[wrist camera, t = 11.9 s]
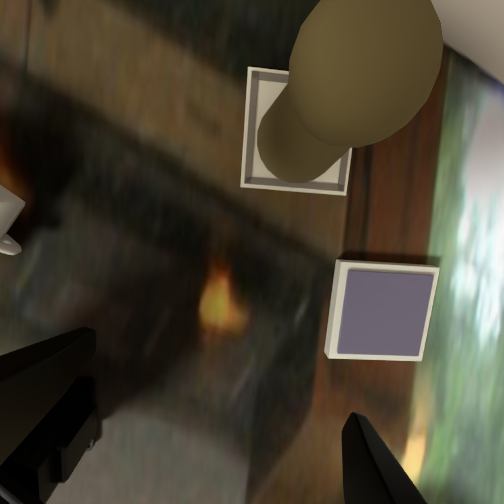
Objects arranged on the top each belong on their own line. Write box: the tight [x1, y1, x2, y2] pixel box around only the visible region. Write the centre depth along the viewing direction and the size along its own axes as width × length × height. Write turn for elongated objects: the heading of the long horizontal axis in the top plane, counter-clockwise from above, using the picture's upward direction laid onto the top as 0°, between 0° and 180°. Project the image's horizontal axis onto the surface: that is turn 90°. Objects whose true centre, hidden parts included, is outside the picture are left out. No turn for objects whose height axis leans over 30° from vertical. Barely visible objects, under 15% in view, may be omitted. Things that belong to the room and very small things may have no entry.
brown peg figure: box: [257, 0, 443, 183], centre depth 13 cm, size 6×6×11 cm
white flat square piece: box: [240, 67, 352, 196], centre depth 19 cm, size 8×8×1 cm
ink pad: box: [324, 259, 440, 361], centre depth 21 cm, size 8×8×1 cm
